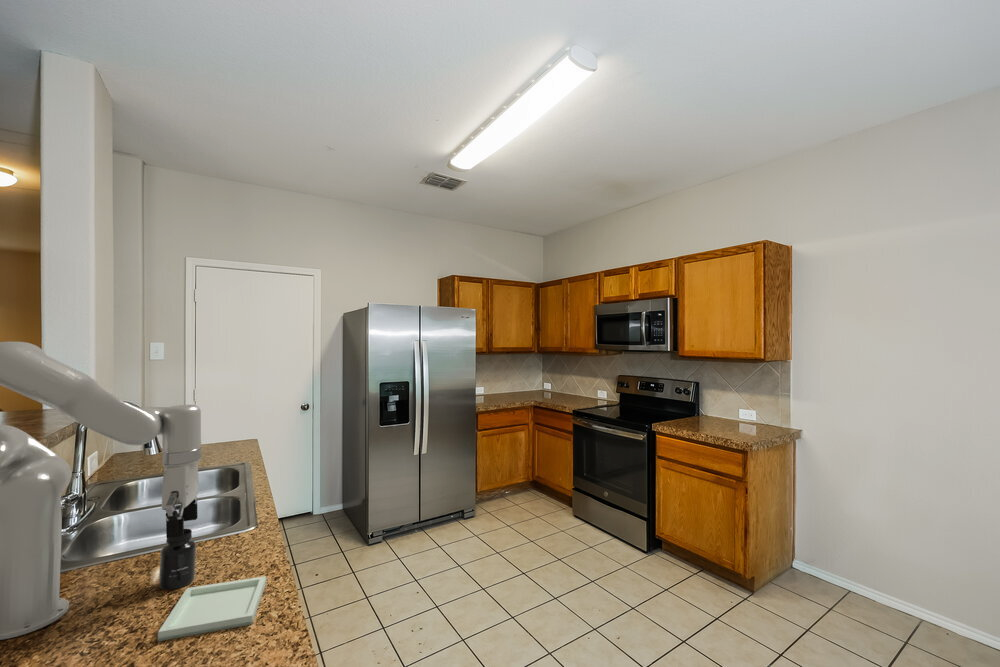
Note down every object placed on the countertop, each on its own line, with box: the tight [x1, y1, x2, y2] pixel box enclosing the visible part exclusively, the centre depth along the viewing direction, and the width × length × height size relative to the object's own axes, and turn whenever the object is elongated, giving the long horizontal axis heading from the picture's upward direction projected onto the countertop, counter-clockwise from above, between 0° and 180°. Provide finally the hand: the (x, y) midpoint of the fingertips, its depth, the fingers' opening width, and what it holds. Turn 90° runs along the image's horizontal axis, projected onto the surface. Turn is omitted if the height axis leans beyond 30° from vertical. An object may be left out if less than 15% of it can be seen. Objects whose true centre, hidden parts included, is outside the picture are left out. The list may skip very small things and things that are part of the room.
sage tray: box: [157, 575, 267, 642], centre depth 93 cm, size 16×16×2 cm
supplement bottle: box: [158, 528, 197, 591], centre depth 104 cm, size 7×7×12 cm
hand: (182, 528), depth 104 cm, fingers open, 9 cm apart
